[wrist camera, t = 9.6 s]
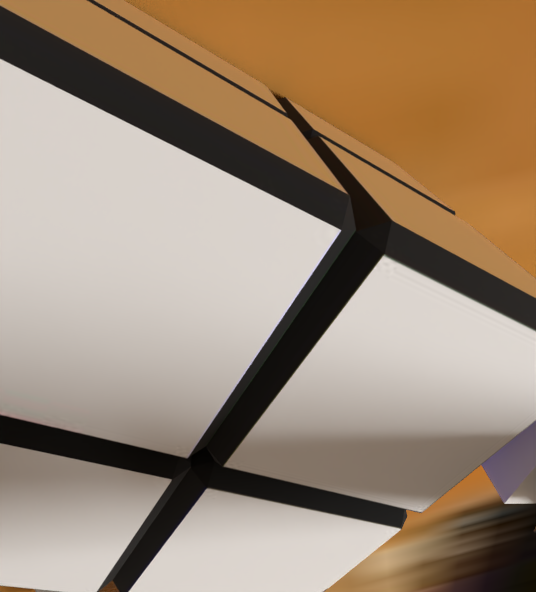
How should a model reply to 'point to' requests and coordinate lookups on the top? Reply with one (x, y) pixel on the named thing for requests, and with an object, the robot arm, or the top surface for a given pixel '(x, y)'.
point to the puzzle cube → (224, 322)
